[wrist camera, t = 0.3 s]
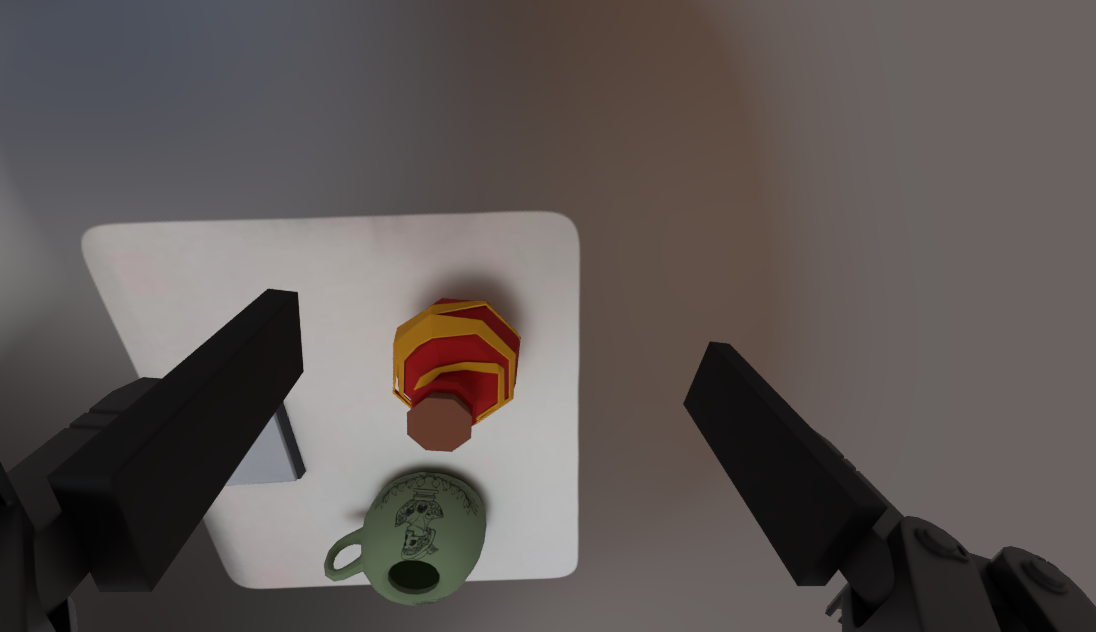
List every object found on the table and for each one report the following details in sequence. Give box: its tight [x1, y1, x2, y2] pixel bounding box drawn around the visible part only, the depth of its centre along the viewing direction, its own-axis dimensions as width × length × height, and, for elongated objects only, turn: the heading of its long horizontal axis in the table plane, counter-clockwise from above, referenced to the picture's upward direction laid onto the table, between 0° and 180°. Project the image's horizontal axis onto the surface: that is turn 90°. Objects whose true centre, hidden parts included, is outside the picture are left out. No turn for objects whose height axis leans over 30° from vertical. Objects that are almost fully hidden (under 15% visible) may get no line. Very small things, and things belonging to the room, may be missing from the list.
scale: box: [225, 402, 305, 486], centre depth 42 cm, size 9×9×2 cm
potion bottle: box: [392, 298, 521, 452], centre depth 32 cm, size 10×10×15 cm
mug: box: [324, 472, 486, 606], centre depth 43 cm, size 16×13×9 cm
